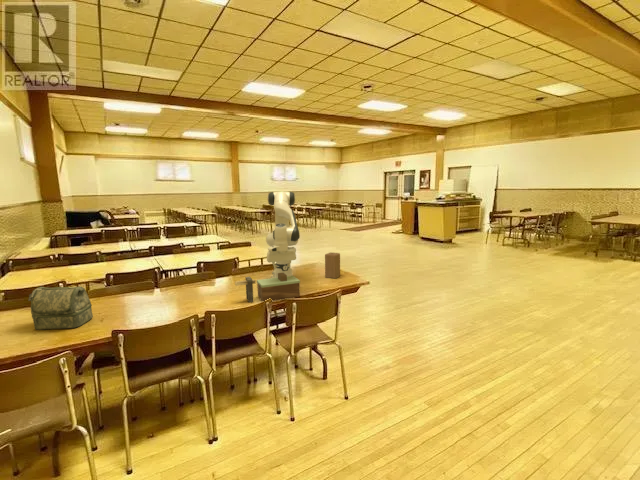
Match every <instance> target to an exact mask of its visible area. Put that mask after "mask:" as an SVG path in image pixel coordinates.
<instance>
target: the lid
mask: <svg viewBox="0 0 640 480" xmlns="http://www.w3.org/2000/svg"><path fill="white" fill-rule="evenodd" d="M257 283H258V284H259V285H260V286H261V287H262V288H263V287H271V286H279V285H286V284H294V283H301V280H300V279H299V278H297V277H296V276H294V275H293V276H287V275H286V274H284V273H278V278H271V277H270V278H264V279H256V284H257Z"/></svg>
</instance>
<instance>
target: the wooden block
mask: <svg viewBox="0 0 640 480" xmlns="http://www.w3.org/2000/svg"><path fill="white" fill-rule="evenodd" d="M324 277H325V278H326V279H327V278H328V279H334V280H335V279H337V278H339V277H341V253H340V252H328V253H325V254H324Z"/></svg>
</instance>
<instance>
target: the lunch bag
mask: <svg viewBox="0 0 640 480" xmlns="http://www.w3.org/2000/svg"><path fill="white" fill-rule="evenodd" d="M31 292H32V293H29V295H28V300H27V301H28V302H30V313H31V318H32V321H33V326H34V330H35V331H36V330H58V329H59V330H60V329H63V330H64V329H75V328H78V327H81V326H83V325H84V324H86V323H87V322H88V321H90V320H91V319H92V318H93V317H94V315H93V311H92V310H93V309H92V303H91V300H90V297H89V295H88V293H87V290H86V289H85V288H84V287H83V286H71V287H60V286H59V287H44V286H39V287H37V288H35V289H33V290H32V291H31Z"/></svg>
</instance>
